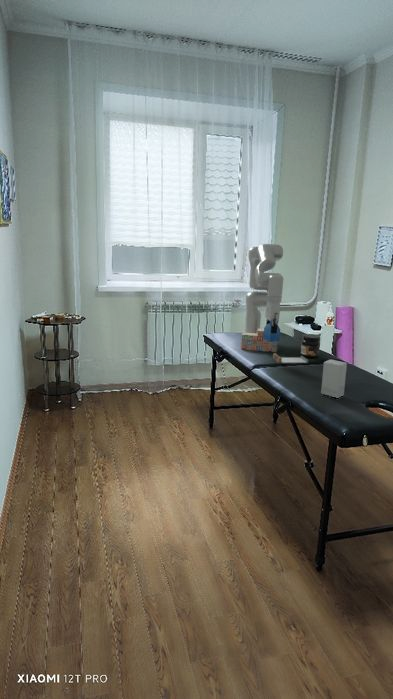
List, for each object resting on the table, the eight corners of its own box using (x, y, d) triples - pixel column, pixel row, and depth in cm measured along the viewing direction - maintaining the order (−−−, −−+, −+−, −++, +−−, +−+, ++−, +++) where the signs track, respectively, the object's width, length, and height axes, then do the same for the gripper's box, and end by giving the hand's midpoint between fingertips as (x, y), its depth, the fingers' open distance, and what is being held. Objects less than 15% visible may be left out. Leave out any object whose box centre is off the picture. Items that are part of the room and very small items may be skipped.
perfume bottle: (263, 338, 250) (265, 317, 247) (272, 338, 253) (274, 316, 249) (269, 341, 245) (271, 319, 241) (279, 340, 248) (281, 319, 244)
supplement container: (299, 357, 262) (301, 337, 259) (300, 352, 272) (303, 333, 269) (318, 359, 260) (320, 339, 256) (319, 355, 269) (321, 335, 266)
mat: (275, 358, 258) (276, 355, 257) (301, 358, 260) (302, 355, 260) (281, 363, 249) (281, 360, 249) (308, 363, 252) (308, 360, 251)
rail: (272, 358, 258) (273, 353, 257) (274, 358, 258) (275, 353, 257) (279, 363, 248) (279, 358, 247) (281, 363, 248) (281, 358, 248)
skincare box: (343, 396, 203) (348, 362, 199) (337, 400, 198) (341, 365, 194) (326, 391, 208) (330, 358, 204) (319, 394, 203) (323, 361, 199)
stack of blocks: (240, 349, 273) (242, 329, 270) (241, 347, 279) (242, 327, 276) (277, 352, 271) (279, 332, 268) (276, 349, 278) (278, 329, 274)
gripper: (262, 295, 250) (259, 327, 255) (273, 301, 233) (269, 335, 238) (275, 296, 251) (272, 327, 256) (286, 301, 235) (283, 335, 240)
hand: (271, 331), depth 247 cm, fingers closed on perfume bottle, 7 cm apart
